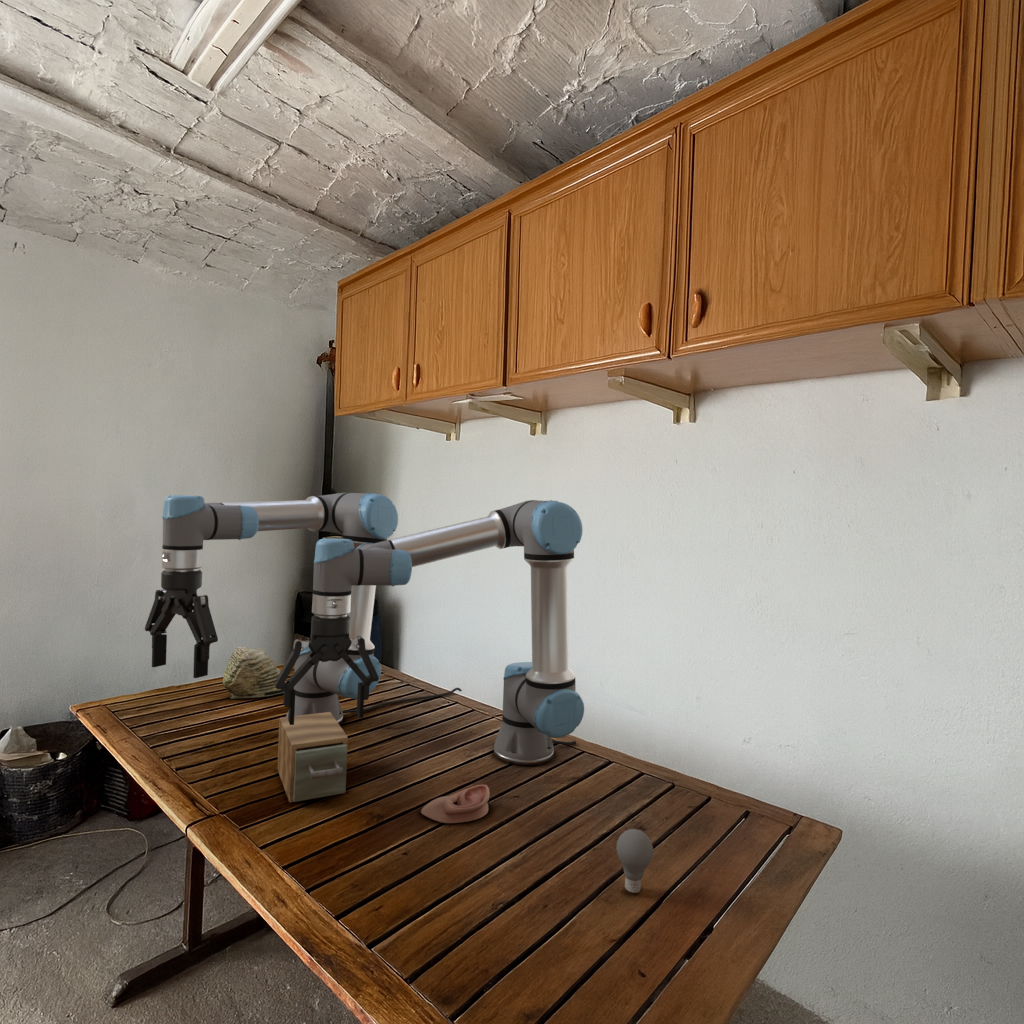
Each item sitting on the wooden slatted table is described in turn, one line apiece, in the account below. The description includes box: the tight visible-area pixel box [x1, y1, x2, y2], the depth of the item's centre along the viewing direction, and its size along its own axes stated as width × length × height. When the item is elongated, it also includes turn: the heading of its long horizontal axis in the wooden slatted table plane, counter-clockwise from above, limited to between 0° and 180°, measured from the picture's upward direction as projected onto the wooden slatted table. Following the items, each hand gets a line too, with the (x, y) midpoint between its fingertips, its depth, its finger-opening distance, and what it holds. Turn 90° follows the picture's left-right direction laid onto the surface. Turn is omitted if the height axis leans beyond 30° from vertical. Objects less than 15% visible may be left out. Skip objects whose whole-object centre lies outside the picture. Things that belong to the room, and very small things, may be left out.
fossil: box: [222, 646, 287, 699], centre depth 198 cm, size 9×18×15 cm, turn 132°
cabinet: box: [277, 712, 349, 804], centre depth 141 cm, size 17×12×12 cm
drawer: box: [293, 743, 348, 803], centre depth 136 cm, size 21×10×10 cm, turn 28°
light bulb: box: [615, 828, 654, 894], centre depth 106 cm, size 6×6×10 cm
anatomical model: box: [420, 784, 491, 824], centre depth 130 cm, size 13×4×12 cm
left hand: (179, 671), depth 132 cm, fingers open, 13 cm apart
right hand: (326, 719), depth 129 cm, fingers open, 13 cm apart
